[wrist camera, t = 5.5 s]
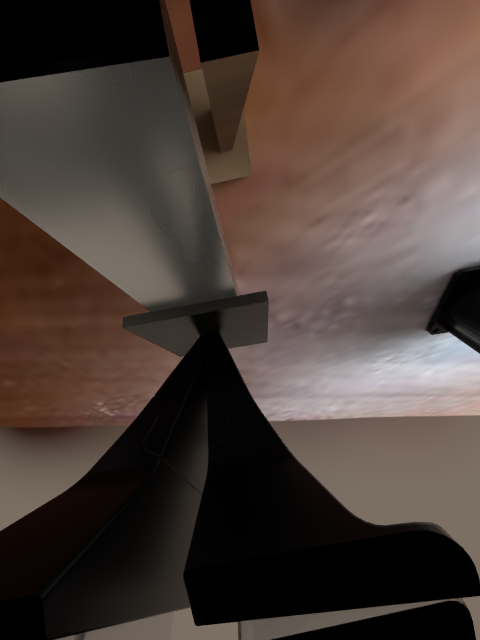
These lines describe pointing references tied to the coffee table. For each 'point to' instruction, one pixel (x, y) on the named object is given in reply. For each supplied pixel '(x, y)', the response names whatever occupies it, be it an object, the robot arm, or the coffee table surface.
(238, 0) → the lever stand
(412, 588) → the robot arm
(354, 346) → the coffee table surface
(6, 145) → the lever
